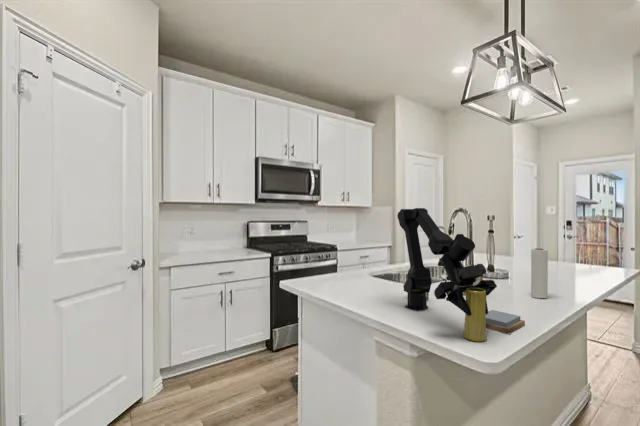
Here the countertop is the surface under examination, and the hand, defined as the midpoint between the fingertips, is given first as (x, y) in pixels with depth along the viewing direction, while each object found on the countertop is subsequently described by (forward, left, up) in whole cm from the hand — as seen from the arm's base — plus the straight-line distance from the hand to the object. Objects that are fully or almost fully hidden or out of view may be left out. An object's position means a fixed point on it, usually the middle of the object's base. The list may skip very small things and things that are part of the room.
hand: (478, 314), depth 98 cm
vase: (-1, +1, -7) cm, 8 cm away
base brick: (-2, +18, -7) cm, 20 cm away
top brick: (-2, +18, -6) cm, 20 cm away
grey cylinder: (-7, +71, -8) cm, 72 cm away
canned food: (-27, +51, -8) cm, 59 cm away
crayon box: (-38, +26, -8) cm, 47 cm away
